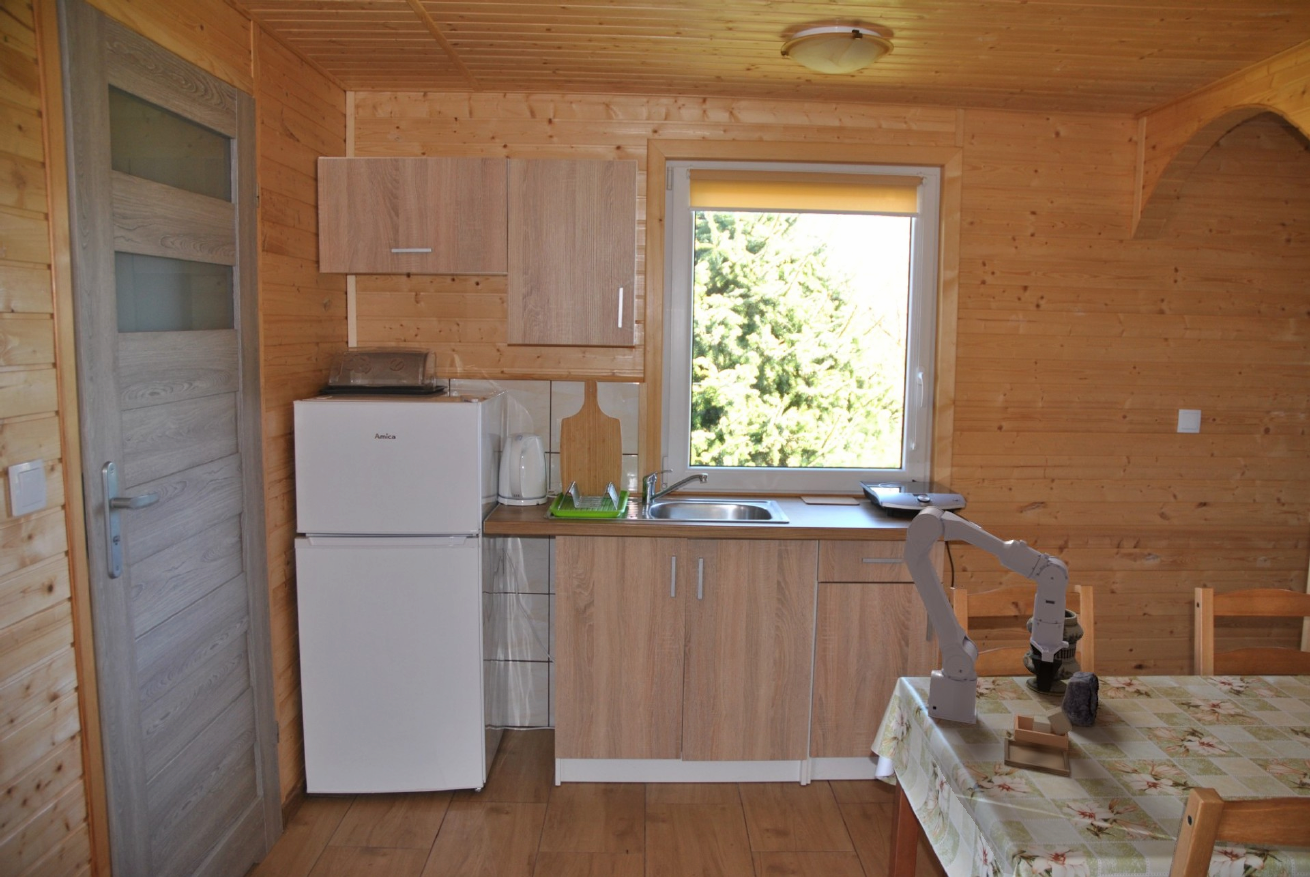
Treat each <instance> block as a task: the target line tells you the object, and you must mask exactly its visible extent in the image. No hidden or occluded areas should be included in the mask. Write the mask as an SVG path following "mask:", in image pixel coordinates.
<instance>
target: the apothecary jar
mask: <svg viewBox="0 0 1310 877" xmlns="http://www.w3.org/2000/svg"><path fill="white" fill-rule="evenodd" d="M1032 625H1033V616H1031V617H1030V618H1028V620H1027V622H1026V629H1027V630H1028V631H1029V633H1031V634H1032ZM1084 632H1085V631H1084V628H1083V627H1082V625H1081V624H1080V623H1079V622H1078V615H1077V613H1076V612H1075V611H1072V610H1070V609H1067V608H1065V618H1064V629H1063V640H1062V641H1066V642H1068V644H1069V646H1068V648H1064V647H1063V648H1061V649H1060V650H1059V651H1058V652H1057V653H1056V655H1055V657H1054V659H1056V660H1062V665H1061V667H1060V668H1059V669H1058V671H1057V673H1056V675H1055V677H1054V680H1053V683H1052V687H1051V690H1050V692H1049V693H1047V692H1042V693H1041V694H1043V693H1044V695H1047V694H1050V695H1049V696H1053V695H1055V697H1065V692H1066V689H1067V685H1068V683H1065V682H1064V681H1067V680H1068V681H1069V679H1070V678H1071V677H1073V675H1074V673H1076V672H1079V671H1081V664H1080V662H1079V661H1078V660H1077V659H1076V653H1077V652H1076V650H1077V642H1078V641H1079V640H1081V639H1082V638H1083V637H1084ZM1029 645H1030V644H1029ZM1031 654H1033V655H1034V653H1033V650H1032V647H1031V645H1030V646H1029V649H1028V650H1027V651H1026V652H1025V653H1024V655H1023V656H1022V663H1023V665H1024V667H1025V668H1026V669H1027V671H1029V672H1030V673H1032V675H1035V677H1034V676H1033V677H1031V678H1028V679H1027V680H1026V681H1025V686H1026V687H1027V688H1028V689H1030V690H1032V691H1035V692H1036V691H1037V692H1036V693H1039V692H1041V691H1038V688H1037V680H1036V671H1035V667H1034V664H1033V662H1032V660H1031Z"/></svg>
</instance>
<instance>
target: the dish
mask: <svg viewBox="0 0 1310 877" xmlns="http://www.w3.org/2000/svg"><path fill="white" fill-rule="evenodd" d="M1033 719H1034V716H1028V715H1022V714H1021V715H1020V714H1017V713H1016V714H1015V713H1014V719H1013V739H1015V740H1020V741H1026V742H1032V743H1038V744H1043V745H1049V746H1055V747H1060V748H1066V751H1067V753H1068V751H1069V740H1070V739H1069V732H1066V733H1063V734H1060V735H1056V733H1055V731H1054V729H1053V727H1052V725H1051V729H1050V734H1047V733H1041V732H1035V731H1033Z"/></svg>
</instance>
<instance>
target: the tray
mask: <svg viewBox="0 0 1310 877" xmlns="http://www.w3.org/2000/svg"><path fill="white" fill-rule="evenodd" d="M1004 765H1007V766H1011V767H1012V766H1013V767H1018V768H1023V769H1029V770H1034V771H1039V772H1045V773H1051V774H1056V775H1061V776H1066V777H1070V766H1069V758H1068V752H1067V751H1066V748H1060V747H1055V746H1049V745H1043V744H1038V743H1032V742H1026V741H1020V740H1015V739H1014V738H1007V737H1005V738H1004Z"/></svg>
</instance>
